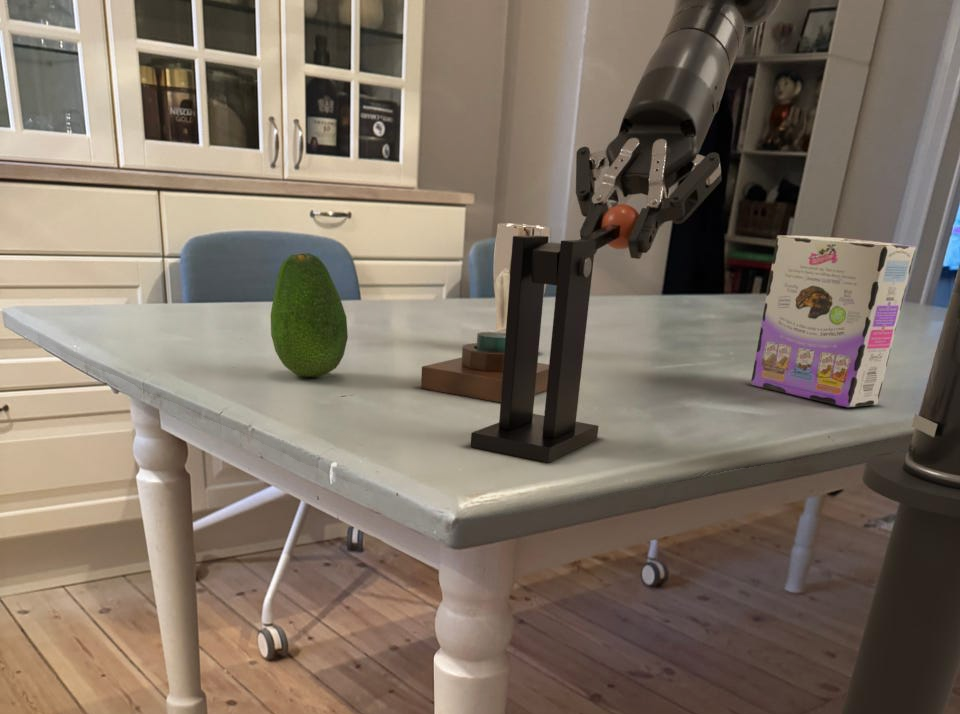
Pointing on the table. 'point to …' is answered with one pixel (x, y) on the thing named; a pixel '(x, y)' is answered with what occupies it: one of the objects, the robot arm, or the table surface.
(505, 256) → the beer glass
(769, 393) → the table surface
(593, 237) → the lever
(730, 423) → the table surface
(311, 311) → the avocado
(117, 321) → the table surface
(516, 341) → the bracket
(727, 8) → the robot arm
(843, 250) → the candy box
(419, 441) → the table surface
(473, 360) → the button block
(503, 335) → the button
